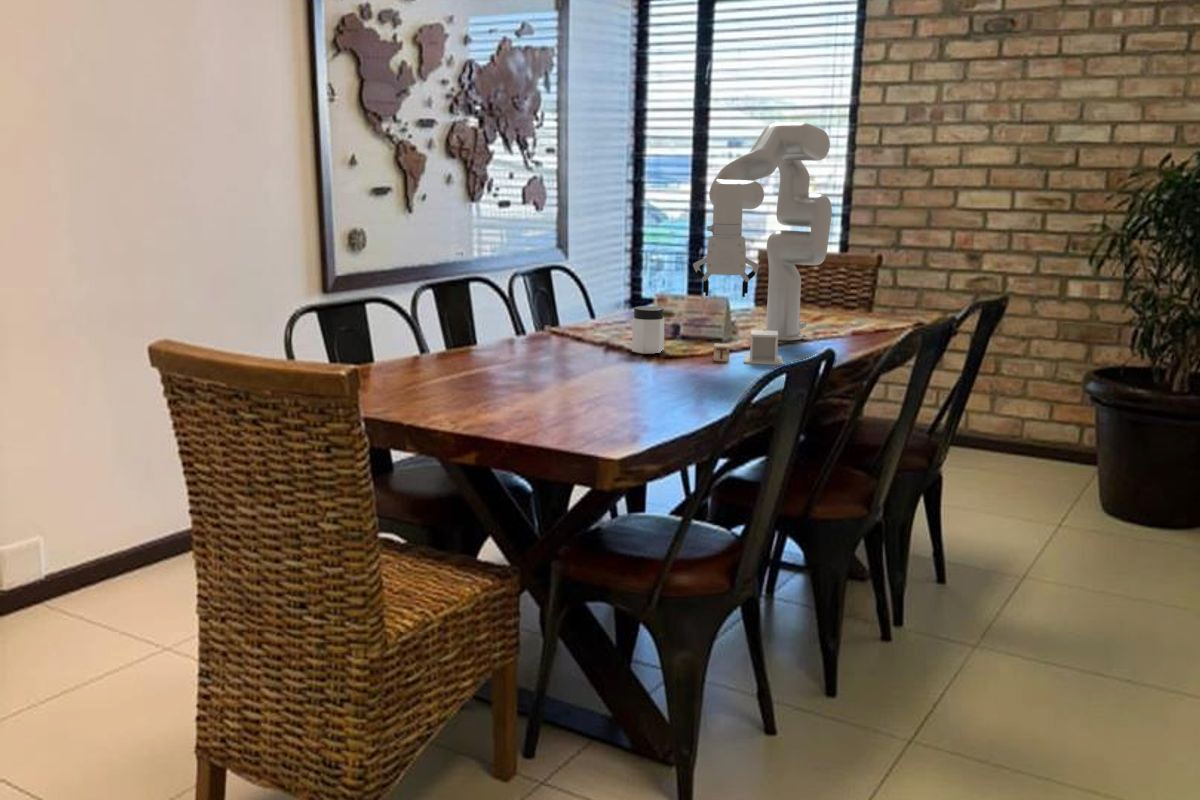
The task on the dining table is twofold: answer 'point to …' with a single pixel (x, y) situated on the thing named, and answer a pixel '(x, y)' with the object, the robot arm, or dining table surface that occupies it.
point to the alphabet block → (764, 344)
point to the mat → (762, 360)
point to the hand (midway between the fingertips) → (725, 295)
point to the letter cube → (721, 352)
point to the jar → (648, 330)
